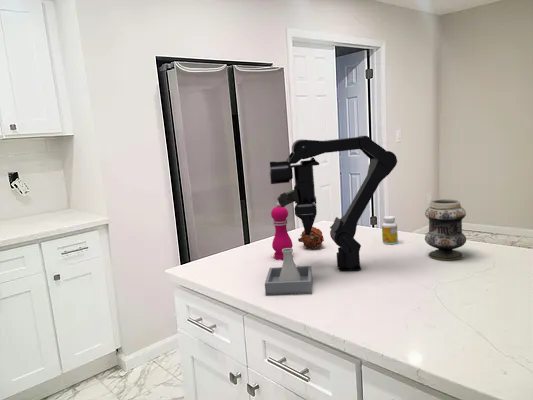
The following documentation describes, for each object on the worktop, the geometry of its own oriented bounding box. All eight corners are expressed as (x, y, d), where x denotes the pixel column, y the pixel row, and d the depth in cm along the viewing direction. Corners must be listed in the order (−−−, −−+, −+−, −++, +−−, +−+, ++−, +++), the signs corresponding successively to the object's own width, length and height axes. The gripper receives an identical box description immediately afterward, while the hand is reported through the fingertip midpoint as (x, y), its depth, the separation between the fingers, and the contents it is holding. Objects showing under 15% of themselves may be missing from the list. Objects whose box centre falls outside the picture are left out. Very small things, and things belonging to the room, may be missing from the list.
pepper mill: (292, 260, 137) (287, 203, 133) (271, 260, 138) (266, 204, 135) (294, 253, 144) (290, 199, 140) (275, 254, 145) (270, 200, 142)
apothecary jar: (475, 256, 124) (475, 200, 121) (446, 264, 119) (444, 206, 116) (445, 248, 135) (444, 196, 132) (417, 254, 130) (415, 201, 128)
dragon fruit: (318, 255, 144) (305, 252, 155) (333, 239, 146) (319, 236, 157) (303, 239, 142) (291, 237, 154) (318, 222, 144) (305, 221, 156)
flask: (282, 277, 119) (280, 245, 117) (305, 279, 116) (303, 246, 114) (273, 286, 112) (270, 252, 110) (298, 288, 109) (295, 253, 108)
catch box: (312, 276, 119) (311, 265, 119) (311, 293, 107) (310, 281, 106) (270, 278, 121) (269, 267, 120) (265, 295, 109) (264, 283, 108)
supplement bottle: (379, 242, 148) (378, 217, 147) (392, 239, 150) (391, 214, 148) (388, 245, 143) (387, 219, 142) (400, 243, 145) (399, 217, 143)
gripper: (280, 179, 129) (284, 225, 132) (274, 187, 111) (279, 241, 114) (314, 176, 128) (317, 223, 130) (314, 184, 110) (318, 238, 112)
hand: (308, 231), depth 122 cm, fingers open, 9 cm apart
